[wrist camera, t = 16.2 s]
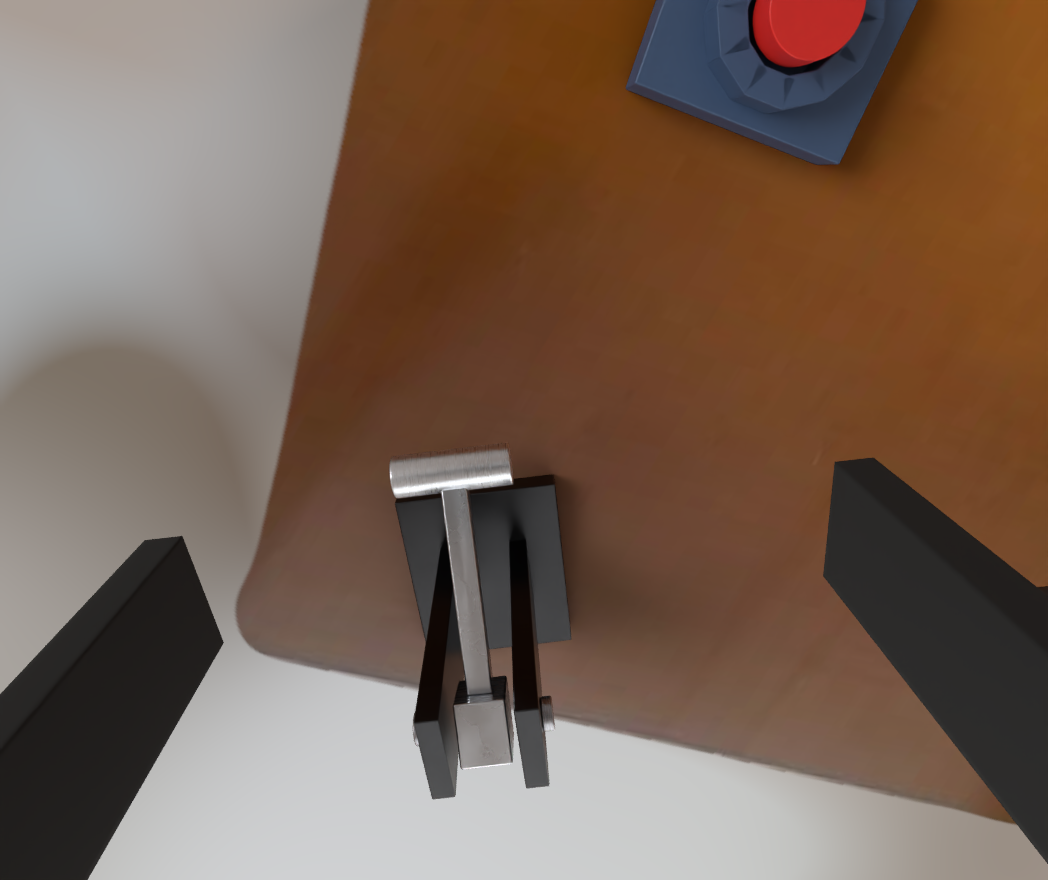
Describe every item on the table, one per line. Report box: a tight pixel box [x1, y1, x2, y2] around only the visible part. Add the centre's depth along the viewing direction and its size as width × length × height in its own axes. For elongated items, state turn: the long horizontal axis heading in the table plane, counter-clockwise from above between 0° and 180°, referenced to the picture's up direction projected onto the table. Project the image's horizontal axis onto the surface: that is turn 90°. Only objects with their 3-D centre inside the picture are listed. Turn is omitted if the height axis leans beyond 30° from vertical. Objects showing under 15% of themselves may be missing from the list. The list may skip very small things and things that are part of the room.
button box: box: [626, 0, 918, 165], centre depth 26 cm, size 10×8×4 cm
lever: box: [389, 443, 514, 769], centre depth 27 cm, size 13×5×2 cm, turn 6°
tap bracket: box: [395, 475, 571, 799], centre depth 32 cm, size 11×9×14 cm
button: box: [753, 0, 866, 67], centre depth 24 cm, size 4×4×2 cm
